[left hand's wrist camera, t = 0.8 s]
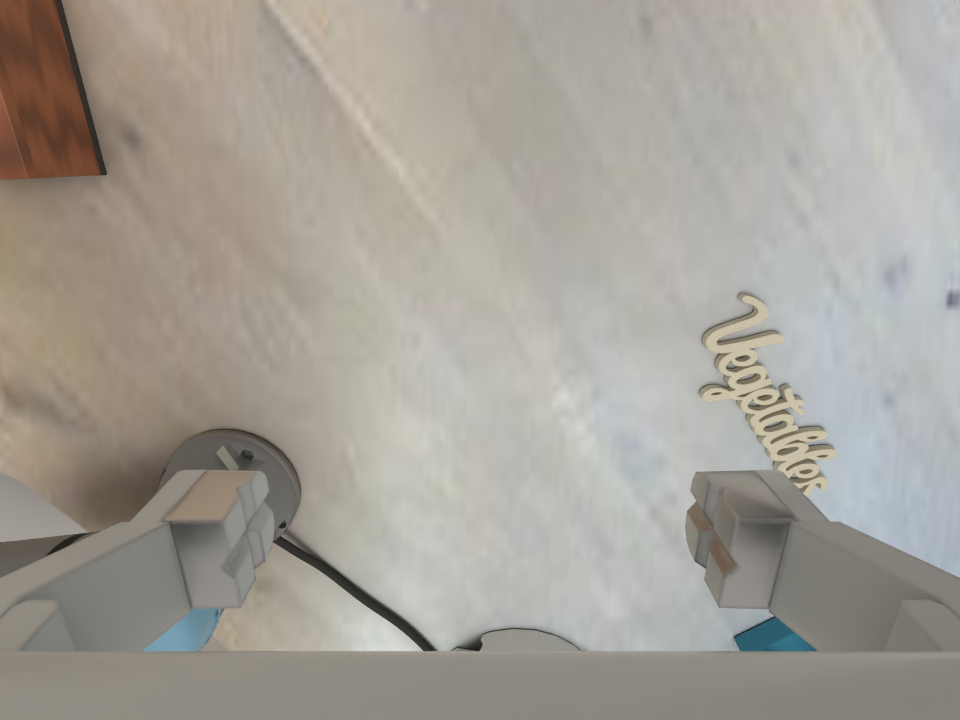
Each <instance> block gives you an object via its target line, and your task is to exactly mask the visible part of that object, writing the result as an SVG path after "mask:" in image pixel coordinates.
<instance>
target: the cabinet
mask: <svg viewBox="0 0 960 720" xmlns="http://www.w3.org/2000/svg"><path fill="white" fill-rule="evenodd" d="M90 175H107V174H106V170H105V166H104V163H103V159H102V155H101V151H100V147H99V143H98V140H97V136H96V132H95V128H94V124H93V121H92V117H91V113H90V109H89V105H88V102H87V98H86V94H85V90H84V86H83V82H82V79H81V75H80V71H79V67H78V63H77V60H76V56H75V52H74V48H73V44H72V41H71V37H70V33H69V29H68V25H67V21H66V18H65V14H64V10H63V6H62V2H61V0H0V180H2V179H28V178H49V177H69V176H90Z"/></svg>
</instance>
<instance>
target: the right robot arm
mask: <svg viewBox="0 0 960 720" xmlns="http://www.w3.org/2000/svg"><path fill="white" fill-rule="evenodd" d="M182 470H237V471H262V472H263V473H264V474H265V475H266V476H267V481H268V486H269V493H268V494H267V496H266V497H265V499H264V502H265V503H266V504H267V505H268V506H269V507H270V508H271V509H272V510H273V516H274V538H273V542H274V543H275V544H277V545H279V546H280V547H282V548H283V549H285V550H286V551H288V552H290V553H291V554H293V555H294V556H296V557H298V558H299V559H301V560H303V561H305V562H306V563H308V564H310V565H312V566H313V567H315V568H317V569H318V570H319V571H321V572H322V573H324V574H325V575H327V576H328V577H329V578H331V579H332V580H333V581H335V582H336V583H337V584H338V585H340V586H341V587H342V588H343V589H345V590H346V591H347V592H348V593H350V594H351V595H352V596H353V597H355V598H356V599H357V600H359V601H360V602H361V603H363V604H364V605H366V606H367V607H369V608H370V609H371V610H373V611H374V612H376V613H377V614H379V615H380V616H382V617H383V618H385V619H386V620H388V621H389V622H391V623H392V624H394V625H395V626H396V627H398V628H399V629H400V630H401V631H403V632H404V633H405V634H406V635H407V636H409V637H410V638H411V639H412V640H413V641H414V642H415V643H416V644H417V645H418V646H419V647H420V648H421V649H422V650H423V651H434V650H433V649H432V648H431V647H430V646H429V645H428V644H427V643H426V642H425V641H424V640H423V639H422V638H421V637H420V636H419V635H418V634H417V633H416V632H415V631H414V630H413V629H411V628H410V627H409V626H408V625H407V624H406V623H404V622H403V621H402V620H400V619H399V618H398V617H396V616H395V615H394V614H392V613H391V612H389V611H388V610H386V609H385V608H383V607H382V606H380V605H379V604H377V603H376V602H374V601H373V600H372V599H370V598H369V597H367V596H366V595H365V594H363V593H362V592H361V591H359V590H358V589H357V588H355V587H354V586H353V585H352V584H350V583H349V582H348V581H347V580H345V579H344V578H343V577H342V576H340V575H339V574H338V573H337V572H335V571H334V570H333V569H331V568H330V567H329V566H327V565H326V564H324V563H323V562H321V561H320V560H318V559H317V558H315V557H313V556H312V555H310V554H308V553H307V552H305V551H303V550H301V549H300V548H298V547H297V546H295V545H293V544H292V543H290V542H289V541H287V540H286V539H284V538H283V537H281V536H280V535H281V534H282V533H283V532H284V531H285V530H286V529H287V528H288V526H289V525H290V523H291V522H292V520H293V518H294V516H295V514H296V512H297V509H298V506H299V502H300V485H299V481H298V477H297V475H296V472H295V470H294V468H293V467H292V465H291V464H290V462H289V461H288V459H287V458H286V457H285V456H284V455H283V454H282V453H281V452H280V451H279V450H278V449H277V448H276V447H274V446H273V445H272V444H270V443H268V442H267V441H265V440H263V439H261V438H259V437H257V436H255V435H252V434H249V433H246V432H242V431H237V430H226V429H224V430H212V431H207V432H204V433H201V434H198V435H196V436H194V437H192V438H190V439H189V440H188V441H186V442H185V443H184V444H183V445H182V446H181V447H180V448H179V449H177V450H176V451H175V452H174V454H173V455H172V456H171V457H170V459H169V460H168V462H167V464H166V465H165V467H164V469H163V472H162V475H161V478H160V484H159V486H158V489H157V491H156V494H157V493H158V492H159V490H160V489H161V488H162V487H163V486H164V485H165V484H166V483H167V482H168V481H169V480H170V479H171V478H172V477H173V476H174V475H175V474H176V473H177V472H178V471H182ZM156 494H155V495H156ZM98 532H100V531H98ZM98 532H91V533H81V534H73V535H64V536H55V537H46V538H38V539H29V540H20V541H9V542H0V578H1V577H3V576H5V575H7V574H10V573H12V572H14V571H16V570H18V569H20V568H23V567H25V566H27V565H29V564H31V563H33V562H35V561H38V560H40V559H42V558H44V557H46V556H48V555H50V554H53V553H55V552H57V551H59V550H61V549H63V548H66V547H68V546H70V545H72V544H74V543H76V542H78V541H81V540H83V539H85V538H87V537H89V536H91V535H93V534H96V533H98ZM223 610H224V608H216V609H191V612H190V613H189V614H188V615H186V616H185V617H184V618H183V619H181V620H180V621H179V622H178V623H177V624H175V625H174V626H173V627H172V628H170V629H169V630H168V631H167V632H165V633H164V634H163V635H162V636H160V637H159V638H158V639H157V640H155V641H154V642H153V643H152V644H150V645H149V646H148V647H147V648H145V649H144V650H143V651H200V650H201V648H202V647H203V646H204V645H205V644H206V643H207V642H208V640H209V639H210V637H211V635H212V634H213V632H214V630H215V628H216V626H217V624H218V621H219V618H220V616H221V614H222V612H223Z"/></svg>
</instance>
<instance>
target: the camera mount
mask: <svg viewBox="0 0 960 720" xmlns="http://www.w3.org/2000/svg"><path fill="white" fill-rule="evenodd" d="M734 639H735V641H736V643H737V645H738V647H739V649H740V651H817V650H816V649H815V648H813V647H812V646H811V645H810V644H808V643H807V642H806V641H805V640H804V639H802V638H801V637H800V636H799V635H797V634H796V633H795V632H794V631H792V630H791V629H790V628H789V627H787V626H786V625H785V624H784V623H782V622H781V621H780V620H779V619H777V618H776V617H775V618H773V619H771V620H769V621H767V622H765V623H763V624H761V625H759V626H757V627H755V628H753V629H751V630H749V631H747V632H744V633H742V634H740V635H738V636H736V637H734Z"/></svg>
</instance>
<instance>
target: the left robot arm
mask: <svg viewBox="0 0 960 720" xmlns="http://www.w3.org/2000/svg"><path fill="white" fill-rule="evenodd" d="M268 493H269V486H268V481H267V476H266V475H265V474H264V473H263V472H262V471H237V470H182V471H178V472H177V473H176V474H175V475H174V476H173V477H172V478H171V479H170V480H169V481H168V482H167V483H166V484H165V485H164V486H163V487H162V488H161V489H160V490H159V492H158V493H157V494H156V495H155V496H154V497H153V498H152V499H151V500H150V501H149V502H148V503H147V504H146V505H145V506H144V507H143V508H142V509H141V510H140V511H139V512H138V514H137V515H136V516H135V517H134V518H133V519H132V520H131V521H130V522H119V523H117V524H115V525H113V526H111V527H109V528H106V529H104V530H102V531H100V532H98V533H96V534H93V535H91V536H89V537H87V538H85V539H83V540H81V541H78V542H76V543H74V544H72V545H70V546H68V547H66V548H63V549H61V550H59V551H57V552H55V553H53V554H50V555H48V556H46V557H44V558H42V559H40V560H38V561H35V562H33V563H31V564H29V565H27V566H25V567H23V568H20V569H18V570H16V571H14V572H12V573H10V574H7V575H5V576H3V577H1V578H0V720H960V578H959V577H956V576H954V575H952V574H950V573H948V572H946V571H944V570H941V569H939V568H937V567H935V566H933V565H931V564H929V563H926V562H924V561H922V560H920V559H918V558H916V557H914V556H911V555H909V554H907V553H905V552H903V551H901V550H899V549H896V548H894V547H892V546H890V545H888V544H886V543H884V542H881V541H879V540H877V539H875V538H873V537H871V536H869V535H866V534H864V533H862V532H860V531H858V530H856V529H854V528H851V527H849V526H847V525H845V524H843V523H841V522H830V521H829V520H828V519H827V518H826V517H825V516H824V515H823V513H822V512H821V511H820V510H819V509H818V508H817V507H816V506H815V505H814V504H813V503H812V502H811V501H810V500H809V499H808V498H807V497H806V496H805V495H804V494H803V493H802V491H801V490H800V489H799V488H798V487H797V486H796V485H795V484H794V483H793V482H792V481H791V480H790V479H789V478H788V477H787V476H786V475H785V474H784V473H783V472H781V471H779V470H776V469H774V470H750V471H713V472H696V473H695V475H694V477H693V480H692V485H691V493H692V494H693V496H694V497H695V499H696V502H695V503H694V504H693V505H692V506H691V507H690V508H689V509H688V510H687V516H686V524H685V528H686V539H687V543H688V547H689V550H690V553H691V555H692V557H693V559H694V561H695V562H697V563H698V564H700V565H701V566H702V567H704V568H705V569H706V572H705V578H704V580H705V582H706V584H707V585H708V587H709V589H710V591H711V593H712V595H713V597H714V598H715V600H716V602H717V604H718V606H719V608H743V609H769V612H770V613H771V614H773V615H774V616H775V617H776V618H777V619H779V620H780V621H781V622H782V623H784V624H785V625H786V626H787V627H789V628H790V629H791V630H792V631H794V632H795V633H796V634H797V635H799V636H800V637H801V638H802V639H804V640H805V641H806V642H807V643H808V644H810V645H811V646H812V647H813V648H815V649H816V650H817V651H143V650H144V649H145V648H147V647H148V646H149V645H150V644H152V643H153V642H154V641H155V640H157V639H158V638H159V637H160V636H162V635H163V634H164V633H165V632H167V631H168V630H169V629H170V628H172V627H173V626H174V625H175V624H177V623H178V622H179V621H180V620H181V619H183V618H184V617H185V616H186V615H188V614H189V613H190V612H191V609H216V608H241V606H242V604H243V602H244V600H245V599H246V597H247V595H248V593H249V591H250V589H251V587H252V585H253V584H254V582H255V580H256V578H255V572H254V569H255V568H256V567H258V566H259V565H260V564H262V563H263V562H265V561H266V559H267V557H268V555H269V552H270V550H271V547H272V542H273V538H274V516H273V510H272V509H271V508H270V507H269V506H268V505H267V504H266V503H265V502H264V499H265V497H266V496H267V494H268Z"/></svg>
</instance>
